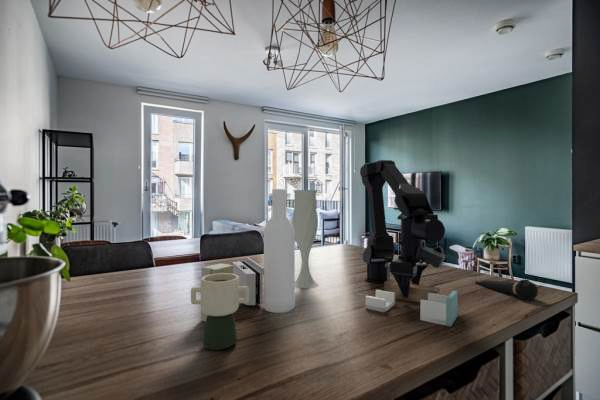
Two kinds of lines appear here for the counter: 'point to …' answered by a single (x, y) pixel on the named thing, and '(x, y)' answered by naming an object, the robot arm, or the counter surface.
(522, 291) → the microphone
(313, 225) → the vase
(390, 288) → the rail
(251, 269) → the bracket
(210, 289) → the character mug
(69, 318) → the counter surface
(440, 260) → the robot arm
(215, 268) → the skincare box
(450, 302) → the rail brackets
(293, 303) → the bottle
